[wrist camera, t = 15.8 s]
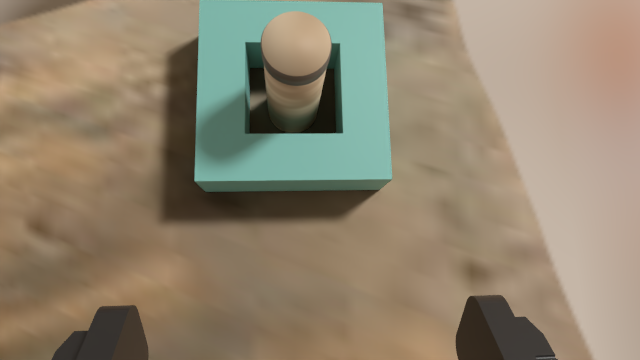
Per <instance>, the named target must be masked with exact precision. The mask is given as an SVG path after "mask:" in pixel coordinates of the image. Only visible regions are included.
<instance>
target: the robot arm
mask: <svg viewBox="0 0 640 360" xmlns="http://www.w3.org/2000/svg"><path fill="white" fill-rule="evenodd" d="M456 351H457V356H458V359H459V360H558V359H556V358H555V354H554V352H553V350H552V349H551V347H550V345H549V343H548V341H547V340H546V338H545V336H544V334H543V333H542V332H541V331H539V330H538V329H537V328H536V327H535V326H534V325H533V324H532V323H531V322H530V321H529V320H528V319H527V318H526V317H515V316H514V314H513V312H512V311H511V309H510V307H509V305H508V303H507V301H506V300H505V298H504V297H503V296H501V295H487V296H470V297H469V298H468V299H467V302H466V305H465V308H464V312H463V315H462V318H461V321H460V324H459V328H458V331H457V334H456ZM52 360H148V345H147V341H146V337H145V334H144V330H143V327H142V323H141V320H140V316H139V313H138V310H137V307H136V306H134V305H132V306H102V307H100V308H99V309H98V310H97V312H96V314H95V316H94V319H93V321H92V323H91V326H90V328H89V331H74V332H73V333H72V334H71V336H70V337H69V338H68V339H67V340H66V341H65V342H64V343H63V344H62V345H61V346H60V347H59V348H58V349H57V351H56V352H55V354H54V356H53V358H52Z"/></svg>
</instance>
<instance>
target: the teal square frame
mask: <svg viewBox="0 0 640 360" xmlns="http://www.w3.org/2000/svg"><path fill="white" fill-rule="evenodd" d="M291 11H299V12H305V13H308V14H310V15H313V16H314V17H316V18H317V19H319V20H320V21H321V22H322V23H323V24H324V25H325V27H326V28H327V30H328V31H329V34H330V37H331V42H332V49H331V55H330V59H329V63H328V66H327V69H334V82H335V113H336V133H331V134H250V68H264V64H263V60H262V54H261V36H262V33H263V30H264V29H265V27H266V25H267V24H268V23H269V22H270V21H271V20H272V19H273V18H275V17H276V16H278V15H280V14H283V13H286V12H291ZM391 180H392V167H391V149H390V131H389V113H388V95H387V77H386V59H385V41H384V23H383V5H382V3H354V2H301V1H249V0H200V8H199V42H198V76H197V110H196V145H195V179H194V181H195V182H196V183H197V184H198V185H199V186H200V187H201V188H202V189H203V190H204V191H205V192H240V191H323V190H380V189H381V188H383V187H384V186H385V185H386V184H387V183H388V182H390V181H391Z"/></svg>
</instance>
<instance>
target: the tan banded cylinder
mask: <svg viewBox="0 0 640 360" xmlns="http://www.w3.org/2000/svg"><path fill="white" fill-rule="evenodd" d="M331 49H332V42H331V37H330V34H329V31H328V30H327V28H326V27H325V25H324V24H323V23H322V22H321V21H320V20H319V19H317V18H316V17H314V16H313V15H310V14H308V13H305V12H299V11H291V12H286V13H283V14H280V15H278V16H276V17H275V18H273V19H272V20H271V21H270V22H269V23H268V24H267V25H266V27H265V29H264V30H263V33H262V36H261V54H262V60H263V64H264V73H265V82H266V92H267V102H268V112H269V116H270V119H271V121H272V122H273V124H274V125H275V126H276V127H277V128H279V129H280V130H282V131H284V132H288V133H298V132H302V131H304V130H306V129H308V128H309V127H310V126H311V125H312V124H313V122H314V121H315V119H316V116H317V111H318V107H319V102H320V97H321V92H322V88H323V83H324V78H325V73H326V69H327V66H328V63H329V59H330V55H331Z"/></svg>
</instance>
